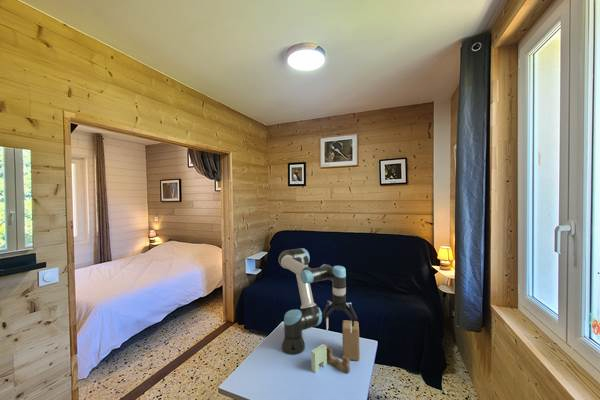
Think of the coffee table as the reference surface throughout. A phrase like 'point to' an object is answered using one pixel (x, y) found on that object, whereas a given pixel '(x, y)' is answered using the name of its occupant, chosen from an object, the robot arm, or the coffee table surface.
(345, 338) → the wooden block
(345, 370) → the brown wooden bracket
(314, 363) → the pale green block
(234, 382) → the coffee table surface
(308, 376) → the coffee table surface
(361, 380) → the coffee table surface
